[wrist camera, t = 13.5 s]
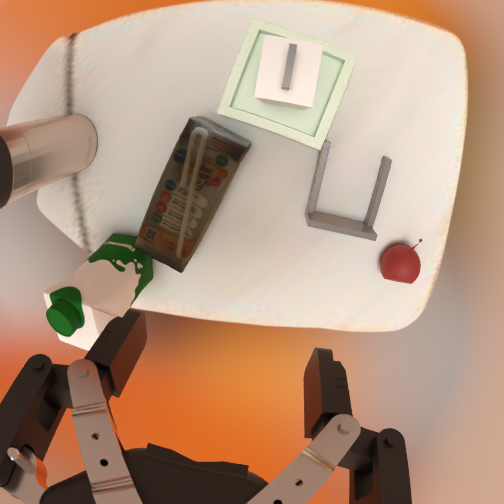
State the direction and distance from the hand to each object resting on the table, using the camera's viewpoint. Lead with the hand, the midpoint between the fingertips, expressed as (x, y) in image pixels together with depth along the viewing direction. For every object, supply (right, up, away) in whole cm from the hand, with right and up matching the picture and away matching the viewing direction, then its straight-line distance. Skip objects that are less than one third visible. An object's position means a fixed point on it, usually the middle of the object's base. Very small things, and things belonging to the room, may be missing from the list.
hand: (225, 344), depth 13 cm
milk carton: (-18, +4, +32) cm, 37 cm away
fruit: (+23, +4, +27) cm, 36 cm away
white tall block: (+5, +24, +18) cm, 31 cm away
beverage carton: (-6, +13, +26) cm, 30 cm away
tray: (+6, +25, +19) cm, 31 cm away
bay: (+14, +13, +23) cm, 30 cm away
